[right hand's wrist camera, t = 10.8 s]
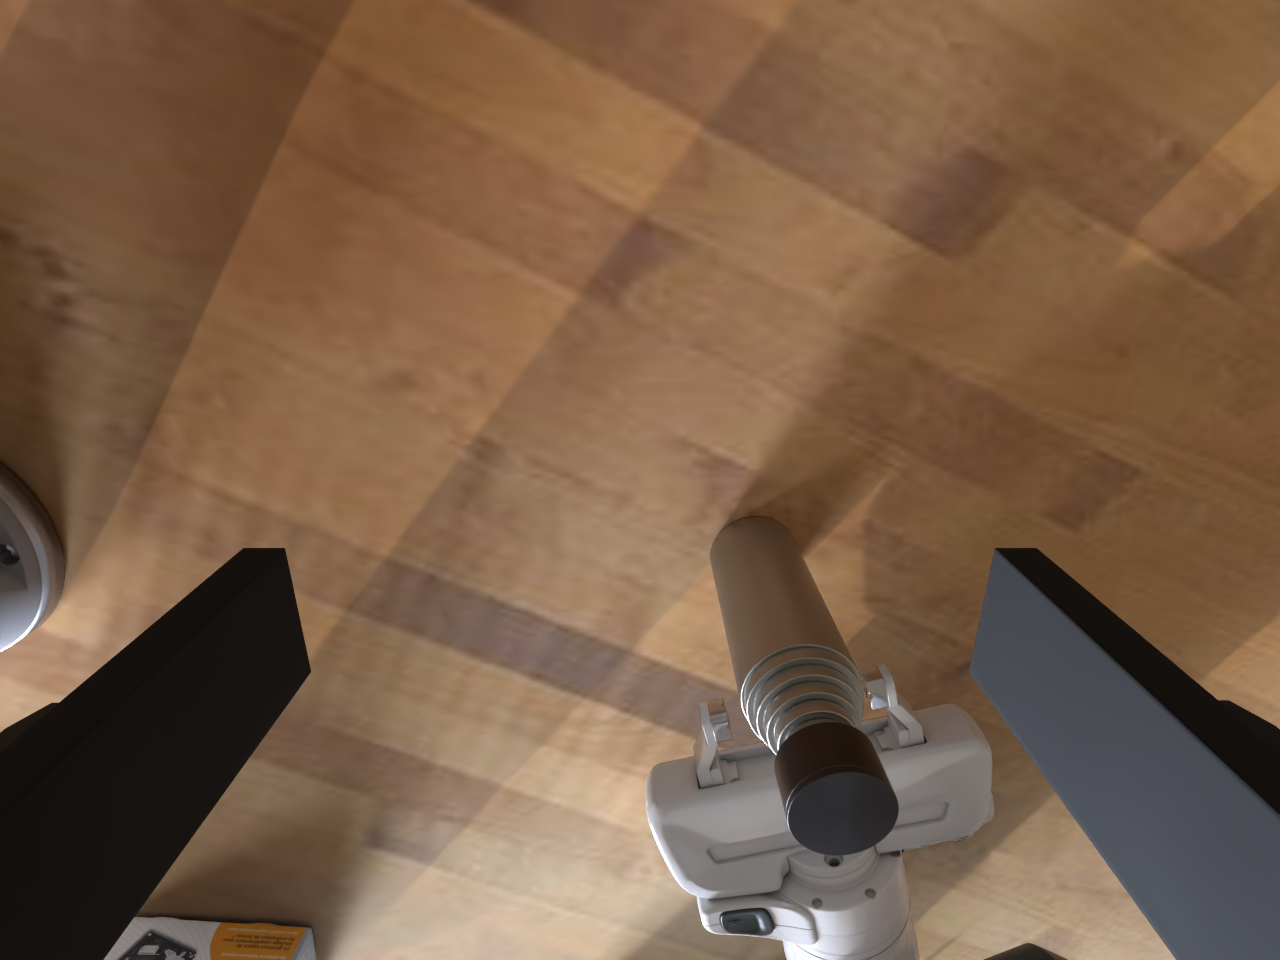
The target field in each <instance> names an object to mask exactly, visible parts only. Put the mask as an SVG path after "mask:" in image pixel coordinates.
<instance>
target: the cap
mask: <svg viewBox="0 0 1280 960" xmlns="http://www.w3.org/2000/svg"><path fill="white" fill-rule="evenodd" d="M774 771H775V775H776V779H777V783H778V787H779V791H780V795H781V799H782V803H783V807H784V811H785V815H786V819H787V823H788V827H789V830H790V832H791V834H792V835H793V837H794V838H795V839H796V840H797V841H798V842H799V843H800V844H801V845H802V846H804V847H805V848H807V849H809V850H811V851H813V852H816V853H820V854H824V855H833V856H842V855H850V854H855V853H858V852H862V851H864V850H867V849H869V848H871V847H873V846H875V845H876V844H878V843H879V842H880V841H882V840H883V839H884V838H885V837H886V836H887V835H888V834H889V833H890V832H891V830H892V829H893V827H894V825H895V823H896V821H897V818H898V813H899V805H898V800H897V797H896V795H895V792H894V790H893V788H892V786H891V783H890V781H889V779H888V777H887V775H886V772H885V770H884V768H883V766H882V763H881V761H880V759H879V757H878V754H877V752H876V750H875V748H874V746H873V744H872V742H871V740H870V739H869V738H868V737H867V736H866V735H865V734H864V733H863V732H861V731H860V730H858V729H857V728H855V727H853V726H850V725H847V724H843V723H838V722H822V723H816V724H812V725H809V726H806V727H804V728H802V729H800V730H798V731H796V732H794V733H793V734H792V735H790V736H789V737H788V738H787V739H786V740H785V741H784V742H783V744H782V745H781V746H780V748H779V750H778V752H777V754H776V758H775V762H774Z"/></svg>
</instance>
